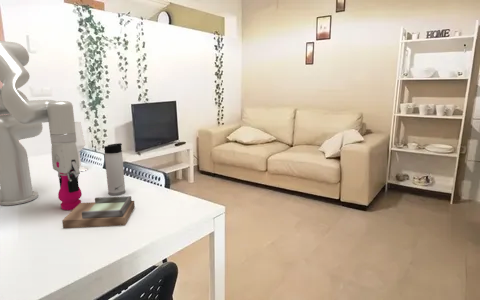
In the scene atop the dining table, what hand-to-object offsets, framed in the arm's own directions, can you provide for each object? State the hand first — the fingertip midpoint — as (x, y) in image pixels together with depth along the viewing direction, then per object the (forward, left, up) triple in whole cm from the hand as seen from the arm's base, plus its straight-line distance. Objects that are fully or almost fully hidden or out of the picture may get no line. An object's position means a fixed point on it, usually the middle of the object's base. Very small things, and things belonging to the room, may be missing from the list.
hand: (69, 189), depth 110 cm
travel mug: (+12, +13, -7) cm, 19 cm away
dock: (+13, -10, -7) cm, 18 cm away
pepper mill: (0, 0, -7) cm, 7 cm away
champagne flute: (-15, +49, -7) cm, 52 cm away
